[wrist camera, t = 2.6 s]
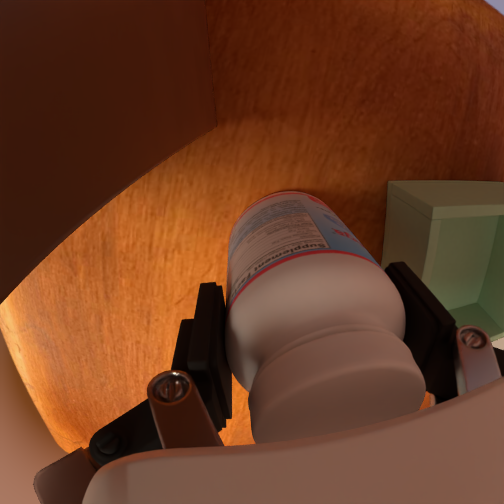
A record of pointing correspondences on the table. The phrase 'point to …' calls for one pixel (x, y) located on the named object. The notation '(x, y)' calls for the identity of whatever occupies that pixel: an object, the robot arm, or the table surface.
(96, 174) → the blue bin
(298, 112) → the table surface
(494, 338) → the green bin
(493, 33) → the table surface
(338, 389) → the pill bottle
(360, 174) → the table surface
